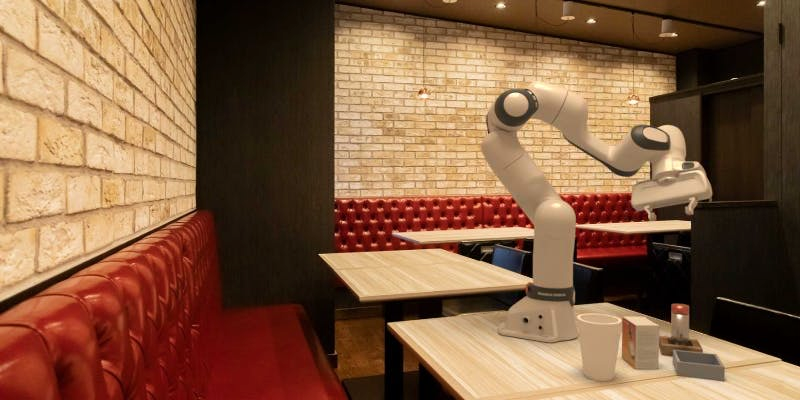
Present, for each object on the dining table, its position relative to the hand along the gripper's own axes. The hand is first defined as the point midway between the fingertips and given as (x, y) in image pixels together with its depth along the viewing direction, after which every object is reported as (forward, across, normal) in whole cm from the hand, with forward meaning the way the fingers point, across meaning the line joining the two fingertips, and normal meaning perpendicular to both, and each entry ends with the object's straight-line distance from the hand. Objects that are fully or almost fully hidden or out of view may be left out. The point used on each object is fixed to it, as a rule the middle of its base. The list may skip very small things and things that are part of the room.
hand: (670, 216), depth 141 cm
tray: (+41, +4, +3) cm, 41 cm away
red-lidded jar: (+33, -3, +13) cm, 35 cm away
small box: (+41, -8, -1) cm, 41 cm away
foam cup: (+48, -12, -13) cm, 51 cm away
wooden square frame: (+33, -3, +13) cm, 35 cm away
